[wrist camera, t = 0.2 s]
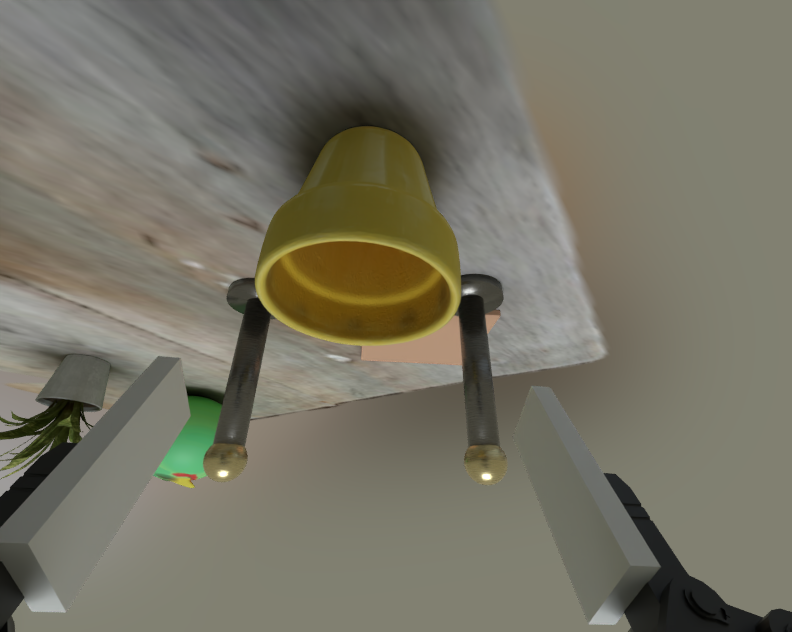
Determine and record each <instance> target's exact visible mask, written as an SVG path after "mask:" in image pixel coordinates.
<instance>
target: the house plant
mask: <svg viewBox="0 0 792 632" xmlns="http://www.w3.org/2000/svg"><path fill="white" fill-rule="evenodd" d="M109 371H110V364H109V363H108V362H106V361H104V360H102V359H99V358H96V357H92V356H86V355H79V354H72V355H67V356H66V357H65V359H64V360H63V361H62V363H61V364H60V366H59V367H58V368H57V370H56V371H55V373H54V374H53V375H52V377H51V378H50V380H49V381H48V382H47V384H46V385H45V387H44V388H43V389H42V391H41V392H40V394H39V395H38V397H37V398H36V401H37V402H39V403H41V404H44V405H47V406H49V408H48V409H47V410H46V411H44V412H42V413H40V414H38V415H36V416H34V417H31V418H30V419H25V418H21V417H18V416H16V415H15V414H13V412H12V418H13V419H15V420H18V421H24V422H22V423H13V422H9V421H7V420H5V419H3V418H1V417H0V420H1V421H2V422H4V423H7V424H13V425H16V426H19V425H23V424H26V423H28V424H26V425H24V426H23V427H21V428H18V429H15V430H11V431H6V432H0V440H2V439H14V438H19V437H23V436H30V435H35V436H36V435H39V434H41V435H40V436H39V437H38V438H37V439H35V440H34V441H33V442H32V443H31V444H30V445H29V446H28V447H27V448H25V449H24V450H23V451H22V452H20V453H16V454H17V455H16V456H15V457H14V458H13V459H10V460H12V461H11V462H10V464H9V465H7V466H5V467H3V468H2V469H1V470H6V469H10V468H12V467H15V466H17V465H19V464H21V463H22V462H24V461H25V460H27V459H28V458H29V457H31V456H32V455H33V454H35V453H36V452H38V451H39V450H41V449H42V448H43V447H44V446H46V445H47V446H46V447H45V448H44V449H43V450H42V451H41V452H40V453H39V454H38V455H37V456H36V457H34V458H33V459H32V460H31V461H29V462H28V463H27V464H26V465H24V466H23V467H21V468H20V469H18V470H16V471H14V472H12V473H11V474H13V473H15V472H17V471H19V470H21V469H23V468H25V467H26V466H27V465H29V464H30V463H32V462H33V461H34V460H35V459H37V458H38V457H39V456H40V455H41V454H42V453H43V452H44V451H45V450H46V449H47V447H48V446H49V445H50V444H51V442H52V441H53V440H54V441H53V444H52V446H51V448H50V450H51V449H53V448H55V447H56V446H58V445H59V444H61V443H63V442H67V439H68V436H69V440H70V442H73V443H79V442H80V441H81V440H82V438H81V436H80V435H79V433H80V432H81V430H80V416H81V418H82V420H83V421H84V422H85V424H86V425H87V424H88V423H87V422H86V420H85V417H84V412H96V411H100V410H102V406H103V401H104V396H105V391H106V386H107V381H108V376H109ZM81 411H82V413H81ZM47 412H48V413H47ZM82 415H83V416H82ZM37 417H38V418H37ZM35 418H36V419H35ZM54 419H55V420H54ZM52 420H54V421H53V422H52V423H51V424H50V425H49V426H47V427H46V429H43V430H41V431H37V430H39V429H41V428H43V427H45V426H46V425H47V424H49V423H50V422H51V421H52ZM88 425H89V426H91V427H94V426H92V425H90V424H88ZM88 425H87V427H88ZM7 426H11V425H7ZM88 428H89V427H88ZM89 429H90V428H89ZM90 430H91V429H90ZM35 431H37V432H35ZM54 438H55V439H54ZM17 448H18V447H17ZM13 450H14V449H13ZM50 450H49V451H50ZM7 453H8V452H7ZM5 454H6V453H5ZM11 454H15V453H11ZM3 455H4V454H3ZM1 456H2V455H1ZM8 460H9V459H8ZM2 461H3V460H2ZM1 470H0V471H1ZM11 474H8V475H7V476H9V475H11ZM7 476H5V477H7ZM3 478H4V477H3ZM1 479H2V478H1Z"/></svg>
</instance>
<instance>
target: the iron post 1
mask: <svg viewBox="0 0 792 632" xmlns="http://www.w3.org/2000/svg"><path fill="white" fill-rule="evenodd" d="M227 302H228V303H229V305H230V306H231V307H232V308H233V309H235V310H236V311H238V312H240V313H242V314H244V316H243V320H242V324H241V328H240V332H239V337H238V341H237V345H236V349H235V353H234V357H233V362H232V366H231V370H230V374H229V378H228V382H227V387H226V391H225V395H224V399H223V403H222V408H221V412H220V416H219V420H218V424H217V428H216V433H215V437H214V441H213V445H211V446H210V447H209V449H208V450H207V451H206V453H205V455H204V459H203V468H204V471H205V473H206V475H207V476H208V477H209V478H210V479H212V480H214V481H217V482H227V481H231V480H233V479H235V478H236V477H238V476H239V475H240V474H241V472H242V471H243V470H244V468H245V467H246V464H247V457H248V455H247V451H246V448H245V443H246V438H247V433H248V428H249V423H250V418H251V413H252V408H253V403H254V398H255V393H256V388H257V383H258V378H259V373H260V368H261V363H262V358H263V353H264V348H265V343H266V338H267V333H268V328H269V323H270V319H277V318H275V317H274V316H273V315H272V314H271V313H269V312H268V310H267V309H266V308H265V307H264V306H263V304H262V303H261V301H260V299H259V297H258V295H257V292H256V288H255V279H254V278H248V279H241V280H237V281H235V282H233V283H232V284H231V285H230V287H229V290H228V294H227Z"/></svg>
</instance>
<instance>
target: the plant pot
mask: <svg viewBox="0 0 792 632" xmlns="http://www.w3.org/2000/svg"><path fill="white" fill-rule="evenodd" d="M255 288H256V292H257V295H258V297H259V299H260V301H261V303H262V304H263V306H264V307H265V308H266V309H267V310H268V312H269V313H271V314H272V315H273V316H274V317H275V318H277V319H278V320H279V321H281V322H282V323H284V324H285V325H287V326H289V327H291V328H293V329H295V330H297V331H299V332H302V333H304V334H307V335H309V336H312V337H316V338H319V339H322V340H326V341H330V342H335V343H341V344H349V345H359V346H383V345H392V344H399V343H405V342H409V341H413V340H417V339H420V338H423V337H425V336H428V335H430V334H432V333H434V332H436V331H438V330H439V329H441V328H442V327H444V326H445V325H446V324H447V323H448V322H449V321H450V320H451V319H452V318H453V316H454V315H455V313H456V312H457V309H458V307H459V304H460V300H461V272H460V261H459V252H458V246H457V241H456V238H455V235H454V233H453V231H452V229H451V227H450V225H449V224H448V222H447V221H446V219H445V218H444V217H443V216H442V215H441V214H440V213H439V211H437V209H436V205H435V202H434V199H433V196H432V193H431V190H430V186H429V183H428V180H427V176H426V173H425V169H424V166H423V163H422V160H421V158H420V156H419V154H418V153H417V151H416V150H415V148H414V147H413V146H412V145H411V143H410V142H409V141H407V140H406V139H405V138H403V137H402V136H400V135H399V134H397V133H395V132H392V131H390V130H387V129H383V128H379V127H372V126H360V127H354V128H350V129H347V130H344V131H342V132H340V133H338V134H337V135H335V136H334V137H332V138H331V139H330V140H329V141H328V142H327V143H326V144H325V146H324V147H323V149H322V150H321V152H320V154H319V156H318V158H317V160H316V162H315V164H314V166H313V168H312V169H311V171H310V173H309V175H308V177H307V178H306V180H305V182H304V184H303V186H302V187H301V189H300V191H299V193H298V194H297V195H295V196H294V197H292V198H291V199H290V200H288V201H287V202H286V203H284V204H283V205H282V206H281V207H280V208H279V210H278V211H277V212H276V213H275V215H274V217H273V218H272V220H271V222H270V225H269V227H268V230H267V233H266V236H265V239H264V242H263V246H262V249H261V253H260V257H259V261H258V265H257V269H256V274H255Z"/></svg>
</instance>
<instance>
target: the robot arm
mask: <svg viewBox="0 0 792 632" xmlns="http://www.w3.org/2000/svg"><path fill="white" fill-rule="evenodd" d="M190 416H191V414H190V409H189V403H188V397H187V391H186V386H185V380H184V374H183V369H182V363H181V358H174V357H162V356H158V357H157V358H156V359H155V360H154V361H153V363H152V364H151V365H150V366H149V367H148V368H147V369H146V370H145V371H144V372H143V373H142V375H141V376H140V377H139V378H138V379H137V380H136V381H135V382H134V383H133V384H132V385H131V386H130V388H129V389H128V390H127V391H126V392H125V393H124V394H123V395H122V396H121V397H120V398H119V399H118V401H117V402H116V403H115V404H114V405H113V406H112V407H111V408H110V409H109V410H108V412H106V414H105V415H104V416H103V417H102V418H101V419H100V420H99V421H98V422H97V423H96V424H95V426H94V427H93V428H92V429H91V430H90V431H89V432H88V433H87V434H86V435H85V436H84V437H83V439H82V440H81V441H80V442H79V443H67V442H63V443H61V444H59V445H58V446H56V447H55V448H53V449H51V450H50V451H48V452H47V453H45V454H44V455H42V456H41V457H40V458H39V459H38V460H37V461H36V462H35V463H34V464H33V465H32V466H31V467H30V468H29V469H28V470H27V471H26V472H25V473H24V475H23V476H22V477H20V478H19V479H18V480H17V481H16V482H15V483H14V484H13V485H12V486H11V487H10V490H9V491H6V492H5V493H4V494H3V495H2V496H1V497H0V632H15V625H14V621H13V618H12V616H11V615H12V614H13V612H14V611H15V610H16V608H17V607H18V606H19V604H20V603H21V602H22V600H23V599H24V600H25V602H26V603H27V605H28V606H29V608H30V609H31V611H33V612H34V611H35V612H67V611H68V609H69V607H70V606H71V604H72V603H73V601H74V600H75V598H76V596H77V595H78V593H79V592H80V590H81V588H82V587H83V585H84V584H85V582H86V581H87V579H88V577H89V576H90V574H91V573H92V571H93V569H94V568H95V566H96V565H97V563H98V561H99V560H100V558H101V557H102V555H103V554H104V552H105V551H106V549H107V547H108V546H109V544H110V543H111V541H112V539H113V538H114V536H115V535H116V533H117V532H118V530H119V528H120V527H121V525H122V524H123V522H124V520H125V519H126V517H127V516H128V514H129V513H130V511H131V509H132V508H133V506H134V505H135V503H136V502H137V500H138V498H139V497H140V495H141V494H142V492H143V490H144V489H145V487H146V486H147V484H148V483H149V481H150V479H151V478H152V476H153V475H154V473H155V471H156V470H157V468H158V467H159V465H160V464H161V462H162V460H163V459H164V457H165V456H166V454H167V453H168V451H169V449H170V448H171V446H172V445H173V443H174V441H175V440H176V438H177V437H178V435H179V434H180V432H181V430H182V429H183V427H184V426H185V424H186V422H187V421H188V419H189V418H190ZM513 439H514V442H515V444H516V447H517V449H518V452H519V454H520V457H521V459H522V461H523V464H524V466H525V469H526V471H527V474H528V476H529V479H530V481H531V484H532V486H533V489H534V491H535V494H536V496H537V499H538V501H539V503H540V506H541V508H542V511H543V513H544V516H545V518H546V521H547V523H548V526H549V528H550V531H551V533H552V536H553V538H554V541H555V543H556V546H557V548H558V551H559V553H560V555H561V558H562V560H563V563H564V565H565V568H566V570H567V573H568V575H569V578H570V580H571V583H572V585H573V588H574V590H575V593H576V595H577V598H578V600H579V603H580V605H581V607H582V610H583V612H584V615H585V617H586V620H587V622H588V624H610V625H612V624H613V625H615V624H616V623H617V621H618V620H619V619H620V618H621V616H622V615H623V614H624V613H625V615H626V617H627V619H628V621H629V623H630V626H631V628H630V630H629V631H628V632H792V612H790V611H786V610H783V609H775V610H771V611H770V612H769V613H768V614H767V615H766V616H765V617H760V616H757V615H754V614H752V613H749V612H746V611H744V610H741V609H738V608H735V607H733V606H730V605H727V604H726V603H725V602H724V601H723V600H722V599H721V598H720V597H719V595H718V594H717V593H716V592H715V591H714V590H712V589H711V588H710V587H709V586H707V585H706V584H705V583H703V582H702V581H699V580H697V579H695V578H693V577H691V576H689V575H688V574H687V572H686V571H685V569H684V568H683V566H682V565H681V563H680V562H679V560H678V559H677V558H676V556H675V554H674V553H673V551H672V550H671V548H670V547H669V545H668V544H667V542H666V541H665V539H664V538H663V536H662V535H661V533H660V532H659V530H658V529H657V527H656V526H655V524H654V523H653V521H651V520H650V517H649V515H648V514H647V512H646V511H645V509H644V508H643V507H641V503H640V502H639V500H638V499H637V497H636V496H635V494H634V493H633V491H632V490H631V488H630V487H629V486H628V485H627V484H626V483H624V482H623V481H622V480H621V479H620V478H619V477H618V476H617V475H616V474H608V473H603V472H602V471H601V469H600V468H599V466H598V464H597V462H596V461H595V459H594V457H593V456H592V454H591V453H590V451H589V449H588V448H587V446H586V445H585V443H584V441H583V440H582V438H581V437H580V435H579V433H578V431H577V430H576V428H575V427H574V425H573V423H572V422H571V420H570V418H569V417H568V415H567V414H566V412H565V410H564V409H563V407H562V405H561V404H560V402H559V401H558V399H557V397H556V396H555V394H554V392H553V391H552V389H551V388H550V387H541V386H531V389H530V391H529V394H528V397H527V399H526V402H525V405H524V408H523V410H522V413H521V416H520V419H519V421H518V424H517V427H516V429H515V432H514V435H513Z"/></svg>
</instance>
